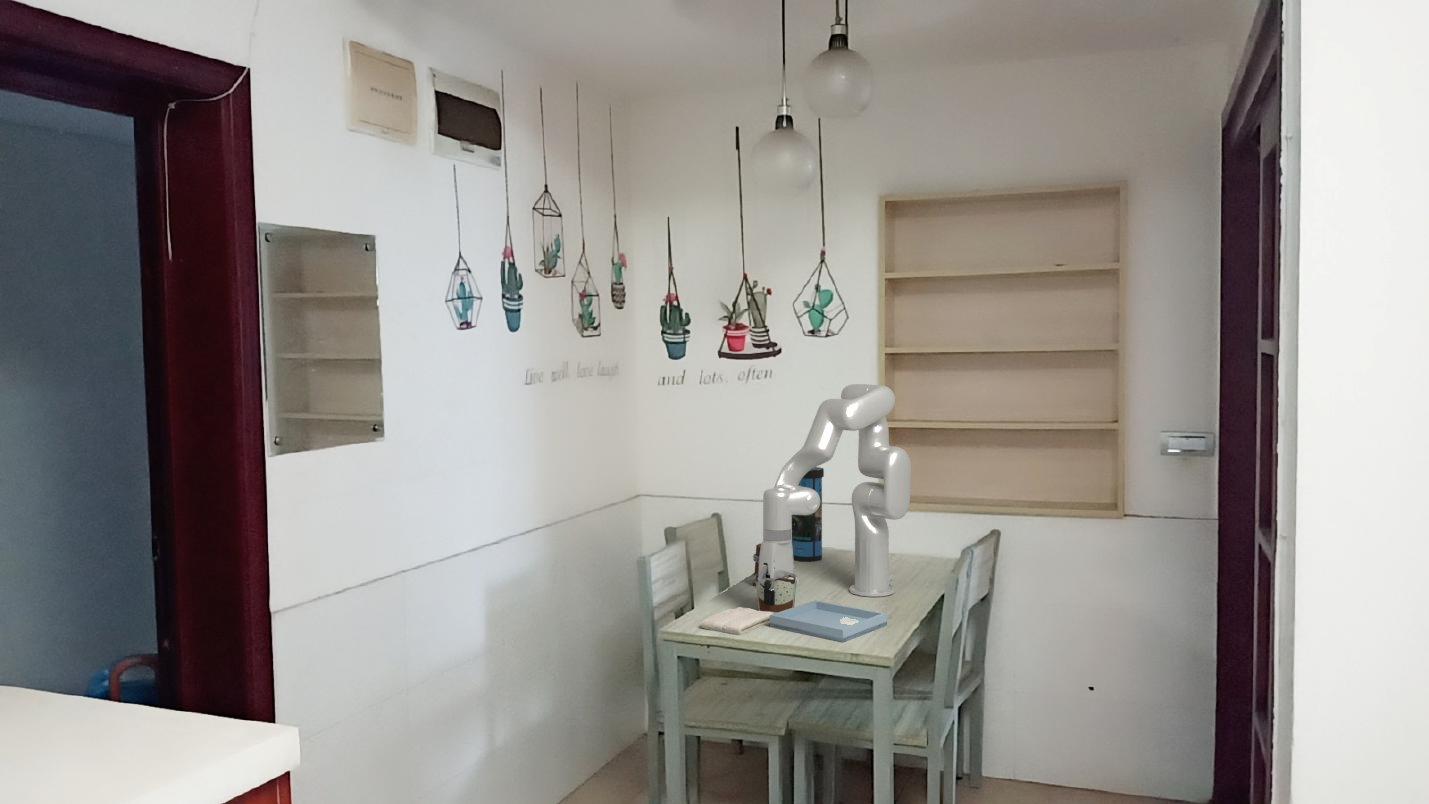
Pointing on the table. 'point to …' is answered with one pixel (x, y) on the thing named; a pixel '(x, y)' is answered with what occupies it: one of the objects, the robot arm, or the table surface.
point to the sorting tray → (828, 620)
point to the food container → (778, 593)
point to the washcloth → (737, 620)
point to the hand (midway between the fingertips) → (776, 601)
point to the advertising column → (809, 523)
